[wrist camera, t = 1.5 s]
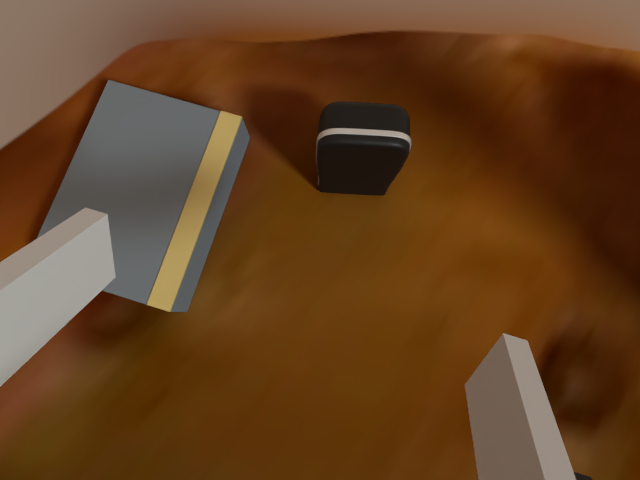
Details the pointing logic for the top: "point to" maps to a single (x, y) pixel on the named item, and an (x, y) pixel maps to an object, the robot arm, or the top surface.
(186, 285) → the dock
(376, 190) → the battery charger
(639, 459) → the top surface
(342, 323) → the top surface
